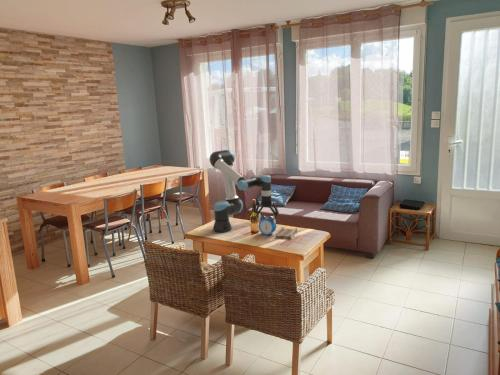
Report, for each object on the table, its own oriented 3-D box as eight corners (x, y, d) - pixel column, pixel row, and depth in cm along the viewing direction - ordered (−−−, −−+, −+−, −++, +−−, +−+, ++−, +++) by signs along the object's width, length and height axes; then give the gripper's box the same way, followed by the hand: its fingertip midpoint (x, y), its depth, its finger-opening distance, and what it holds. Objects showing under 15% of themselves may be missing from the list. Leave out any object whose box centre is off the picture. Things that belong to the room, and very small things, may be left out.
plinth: (275, 237, 309) (275, 233, 309) (282, 230, 326) (282, 226, 325) (291, 239, 305) (291, 234, 304) (297, 232, 321) (297, 227, 321)
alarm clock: (258, 234, 319) (257, 216, 316) (261, 232, 324) (261, 214, 321) (273, 236, 313) (273, 217, 310) (276, 234, 319) (276, 215, 315)
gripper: (250, 195, 313) (251, 222, 318) (279, 197, 305) (280, 224, 309) (253, 193, 320) (254, 220, 324) (282, 194, 312) (283, 222, 316)
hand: (267, 222), depth 317 cm, fingers closed on alarm clock, 12 cm apart
